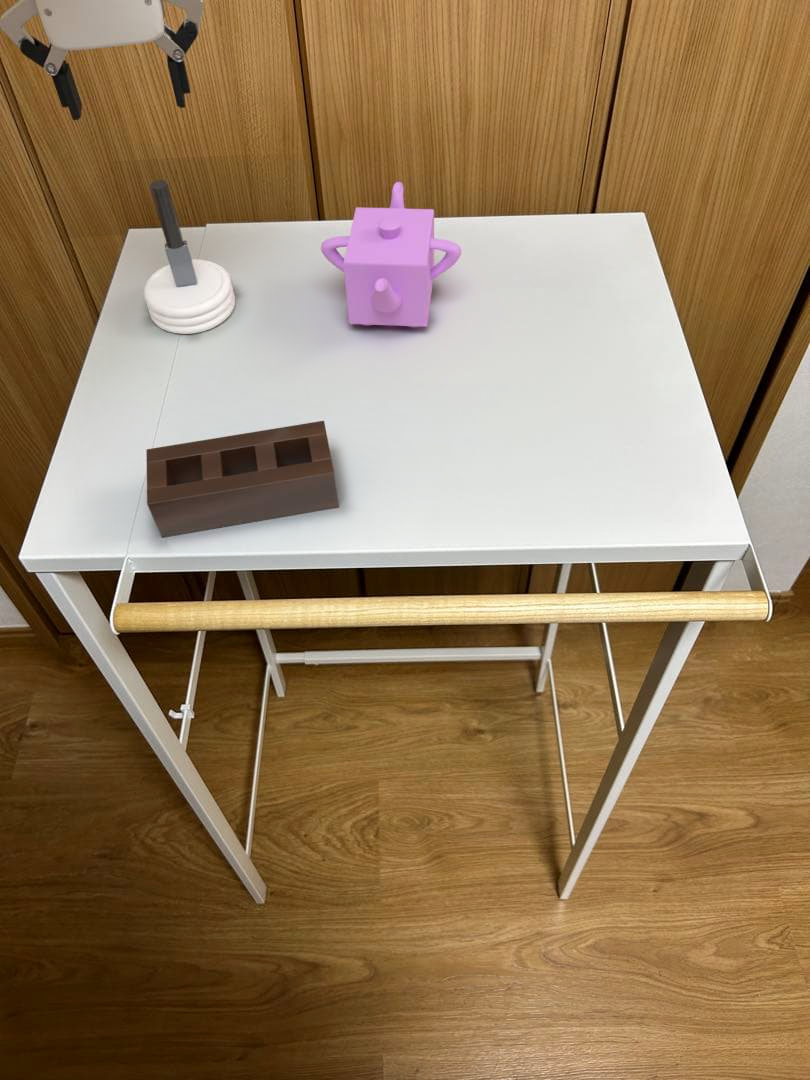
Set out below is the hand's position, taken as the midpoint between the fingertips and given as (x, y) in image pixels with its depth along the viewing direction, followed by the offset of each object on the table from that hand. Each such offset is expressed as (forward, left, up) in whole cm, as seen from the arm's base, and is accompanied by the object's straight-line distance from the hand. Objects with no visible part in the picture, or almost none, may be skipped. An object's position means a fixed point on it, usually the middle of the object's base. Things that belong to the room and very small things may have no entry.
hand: (129, 107), depth 78 cm
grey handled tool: (+1, +1, -20) cm, 20 cm away
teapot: (+23, -4, -24) cm, 34 cm away
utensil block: (+4, -29, -24) cm, 38 cm away
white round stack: (0, +1, -24) cm, 24 cm away
